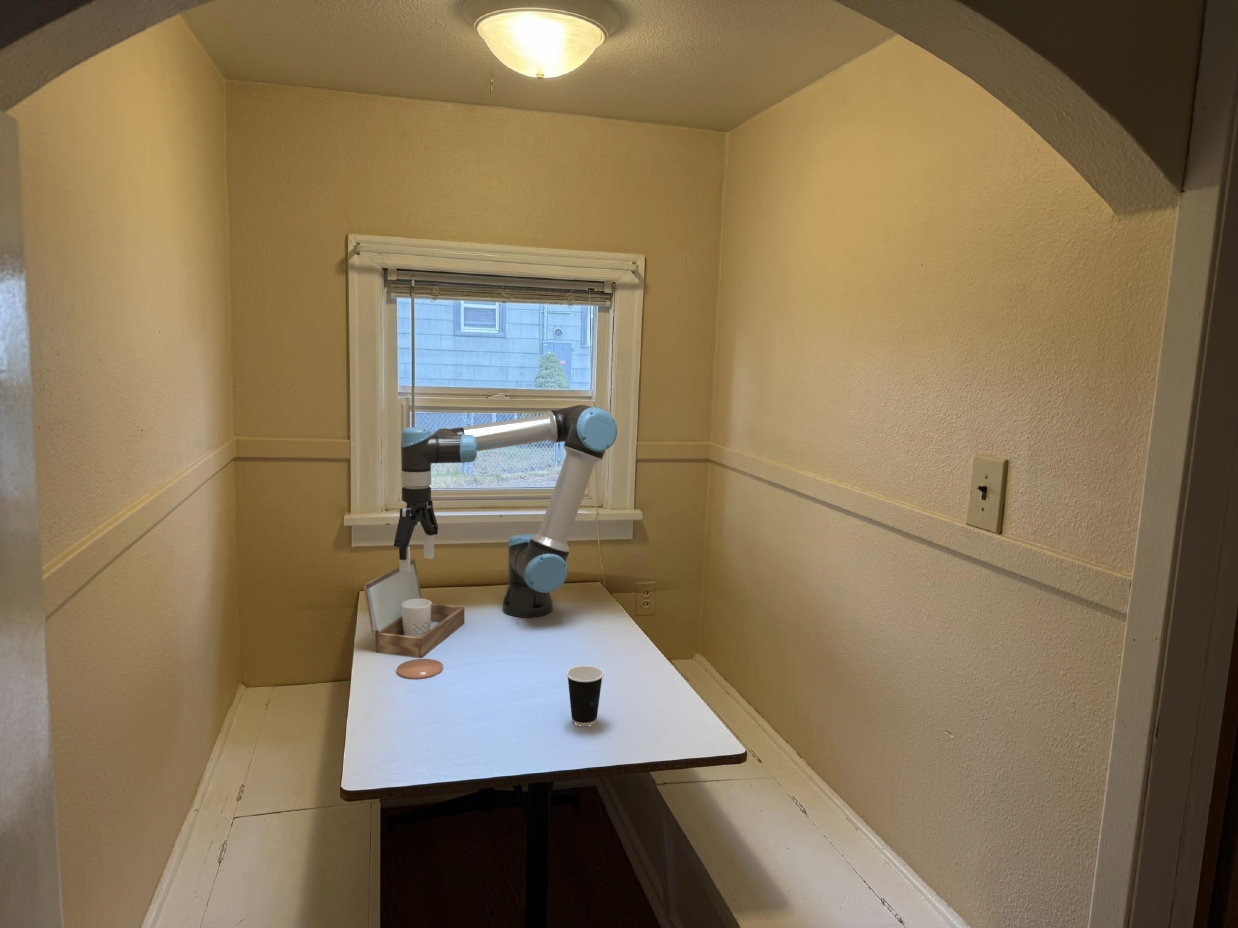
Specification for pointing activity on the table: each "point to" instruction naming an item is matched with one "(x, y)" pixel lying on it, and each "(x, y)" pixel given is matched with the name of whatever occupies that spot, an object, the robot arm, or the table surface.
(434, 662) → the saucer
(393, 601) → the lid
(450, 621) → the cold frame
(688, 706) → the table surface
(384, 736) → the table surface
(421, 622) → the white cup
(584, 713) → the dixie cup
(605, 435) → the robot arm
